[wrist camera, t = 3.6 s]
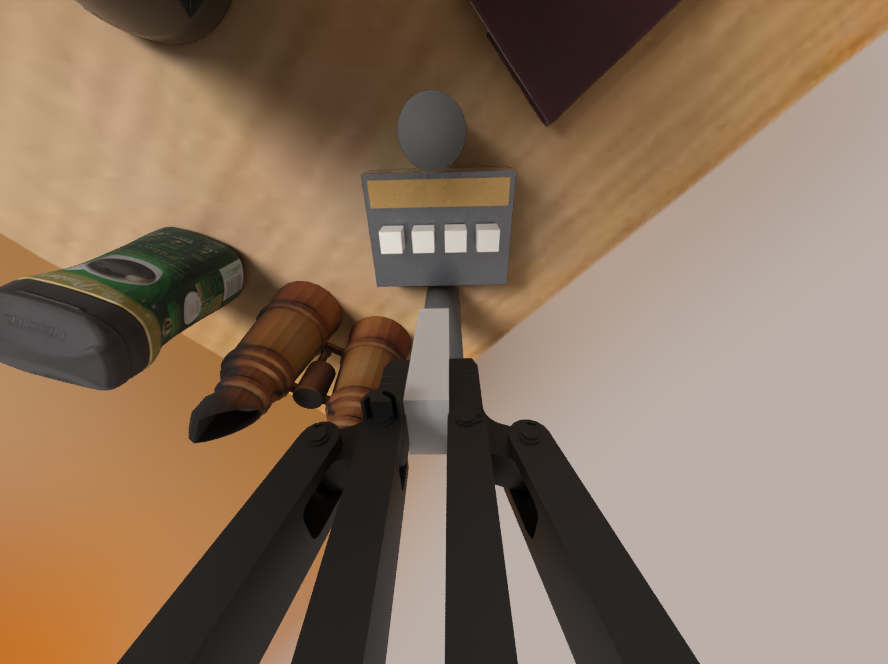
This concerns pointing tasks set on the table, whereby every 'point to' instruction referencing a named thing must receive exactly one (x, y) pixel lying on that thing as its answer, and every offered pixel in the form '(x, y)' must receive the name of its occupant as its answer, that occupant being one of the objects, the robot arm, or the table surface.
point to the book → (564, 43)
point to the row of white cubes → (425, 238)
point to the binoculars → (298, 363)
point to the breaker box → (440, 222)
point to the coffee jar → (115, 308)
